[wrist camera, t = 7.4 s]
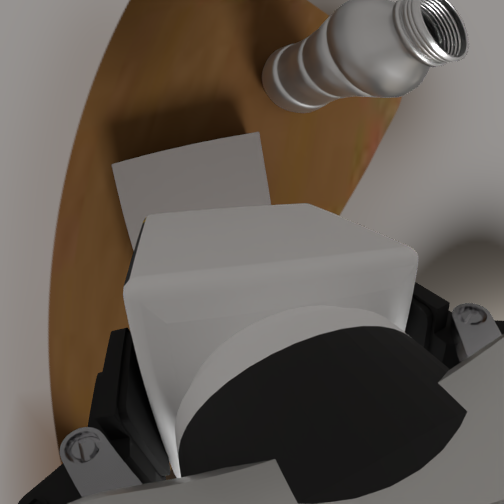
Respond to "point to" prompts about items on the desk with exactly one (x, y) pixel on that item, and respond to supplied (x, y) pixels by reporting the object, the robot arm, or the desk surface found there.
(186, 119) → the desk surface
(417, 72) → the plastic bottle
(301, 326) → the medicine bottle
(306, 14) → the desk surface
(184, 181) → the base block
